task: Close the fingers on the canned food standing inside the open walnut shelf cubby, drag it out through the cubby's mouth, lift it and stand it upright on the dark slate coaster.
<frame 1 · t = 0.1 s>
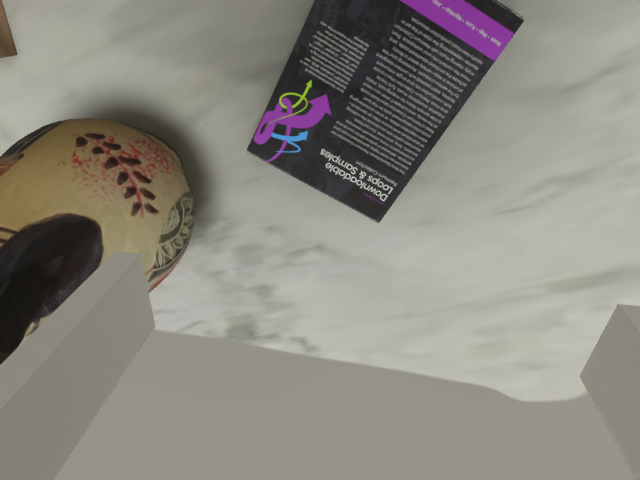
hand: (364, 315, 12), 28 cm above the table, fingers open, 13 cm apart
box: (369, 85, 36), on the table
ceramic jug: (150, 174, 42), on the table
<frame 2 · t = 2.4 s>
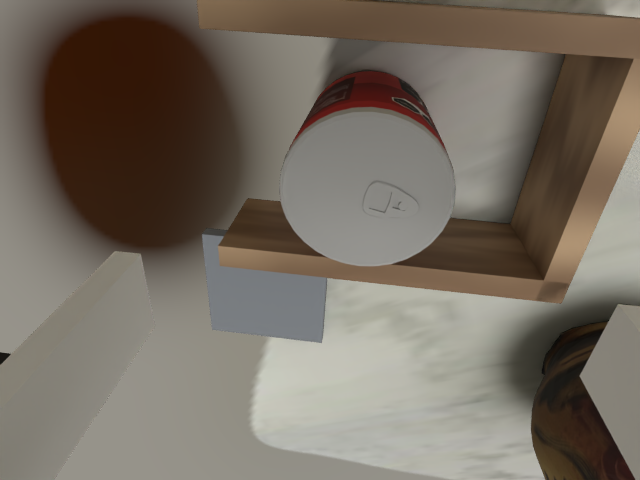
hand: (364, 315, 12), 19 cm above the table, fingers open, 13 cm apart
coaster: (268, 284, 36), on the table
canned food: (368, 128, 28), resting in shelf
shelf: (398, 131, 28), on the table
ceramic jug: (612, 359, 36), on the table
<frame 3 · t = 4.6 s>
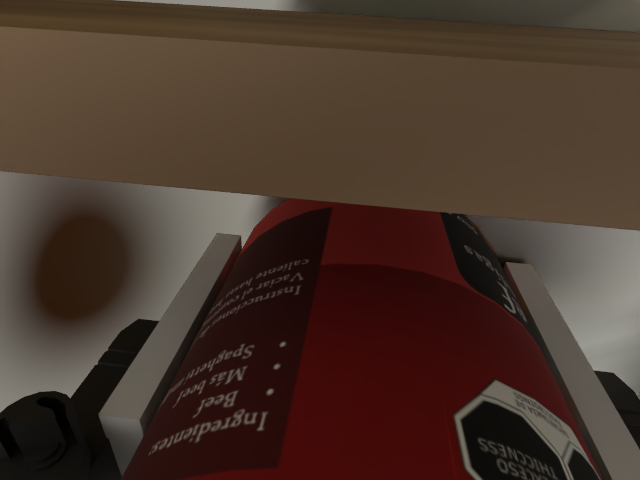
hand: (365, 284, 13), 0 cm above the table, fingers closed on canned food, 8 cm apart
canned food: (365, 275, 14), resting in shelf, touching gripper
shelf: (428, 286, 13), on the table
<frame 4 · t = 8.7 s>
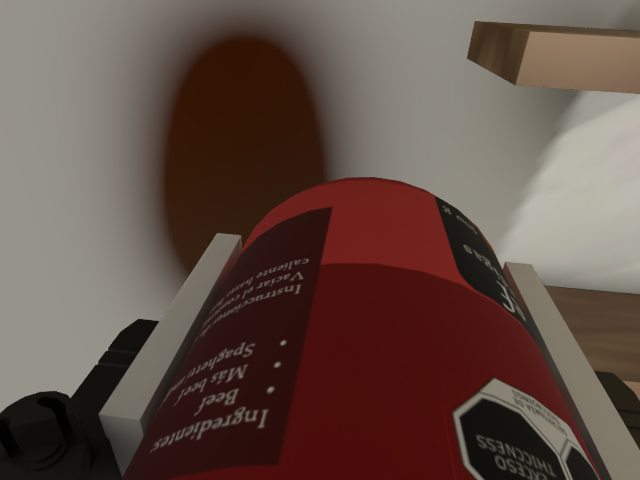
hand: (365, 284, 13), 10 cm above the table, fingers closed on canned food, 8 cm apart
canned food: (365, 275, 14), point 10 cm above the table, touching gripper
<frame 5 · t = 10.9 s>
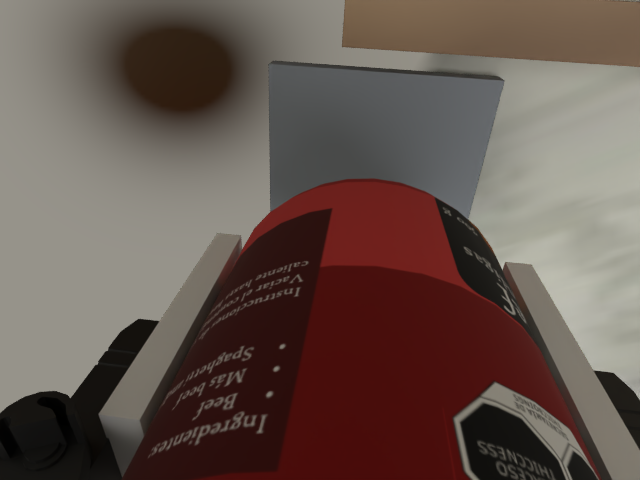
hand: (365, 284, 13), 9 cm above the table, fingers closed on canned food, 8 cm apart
coaster: (371, 173, 21), on the table
canned food: (365, 276, 14), point 9 cm above the table, touching gripper
when the fingers open (3 cm above the table, at t = 12.7 s): canned food drops 1 cm, resting on coaster.
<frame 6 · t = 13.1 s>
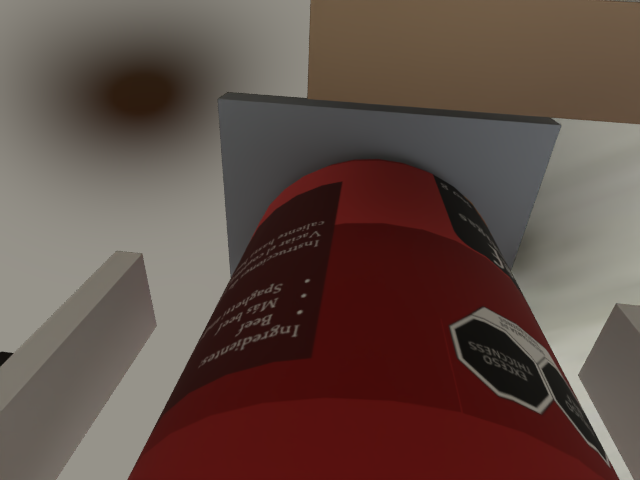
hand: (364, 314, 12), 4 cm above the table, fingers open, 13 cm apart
coaster: (366, 240, 16), on the table
canned food: (370, 252, 15), point 1 cm above the table, touching coaster
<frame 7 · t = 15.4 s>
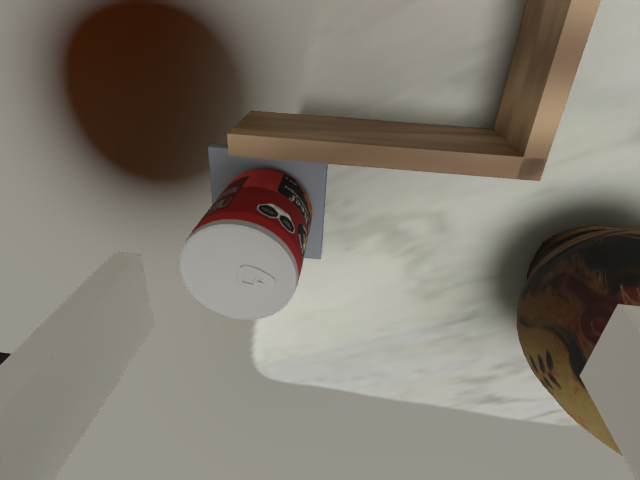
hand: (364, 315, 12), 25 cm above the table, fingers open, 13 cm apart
coaster: (269, 201, 38), on the table
canned food: (269, 205, 37), point 1 cm above the table, touching coaster
shelf: (390, 38, 31), on the table
ceramic jug: (590, 268, 39), on the table
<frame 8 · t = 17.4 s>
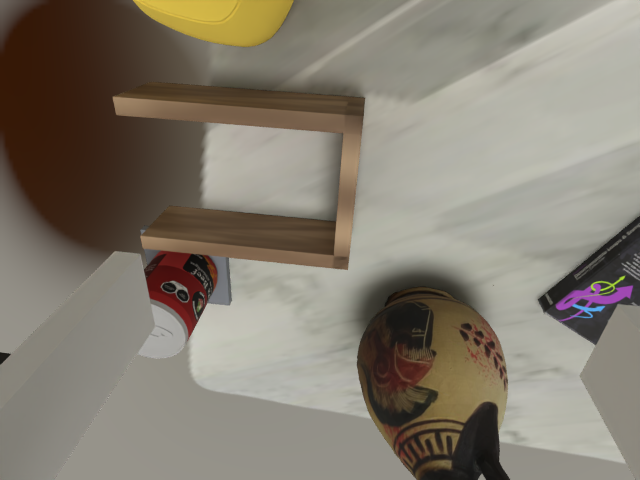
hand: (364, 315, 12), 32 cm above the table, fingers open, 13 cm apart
coaster: (189, 264, 52), on the table
canned food: (188, 268, 51), point 1 cm above the table, touching coaster
shelf: (258, 163, 44), on the table
ceramic jug: (427, 314, 52), on the table
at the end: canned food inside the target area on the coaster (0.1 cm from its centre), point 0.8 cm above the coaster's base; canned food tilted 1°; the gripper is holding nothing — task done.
